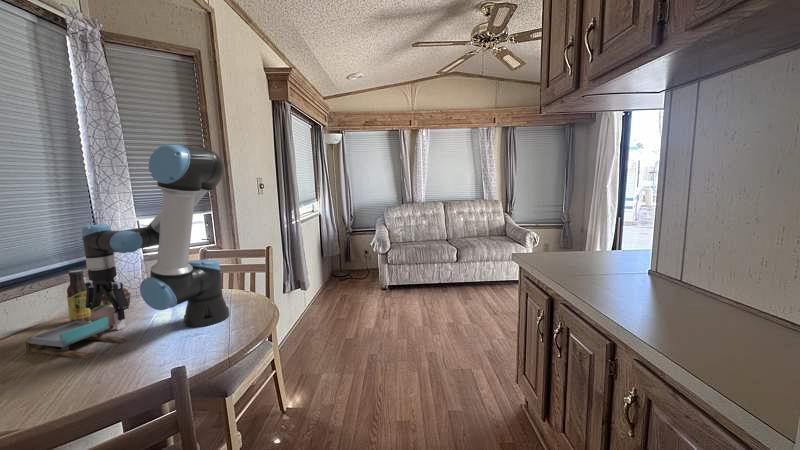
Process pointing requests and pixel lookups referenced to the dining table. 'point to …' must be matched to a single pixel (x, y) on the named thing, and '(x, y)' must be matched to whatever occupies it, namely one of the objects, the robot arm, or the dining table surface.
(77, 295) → the sauce bottle
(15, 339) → the dining table surface
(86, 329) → the shallow teal tray
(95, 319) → the decorative fruit
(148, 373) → the dining table surface
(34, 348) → the rails
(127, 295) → the cupcake
